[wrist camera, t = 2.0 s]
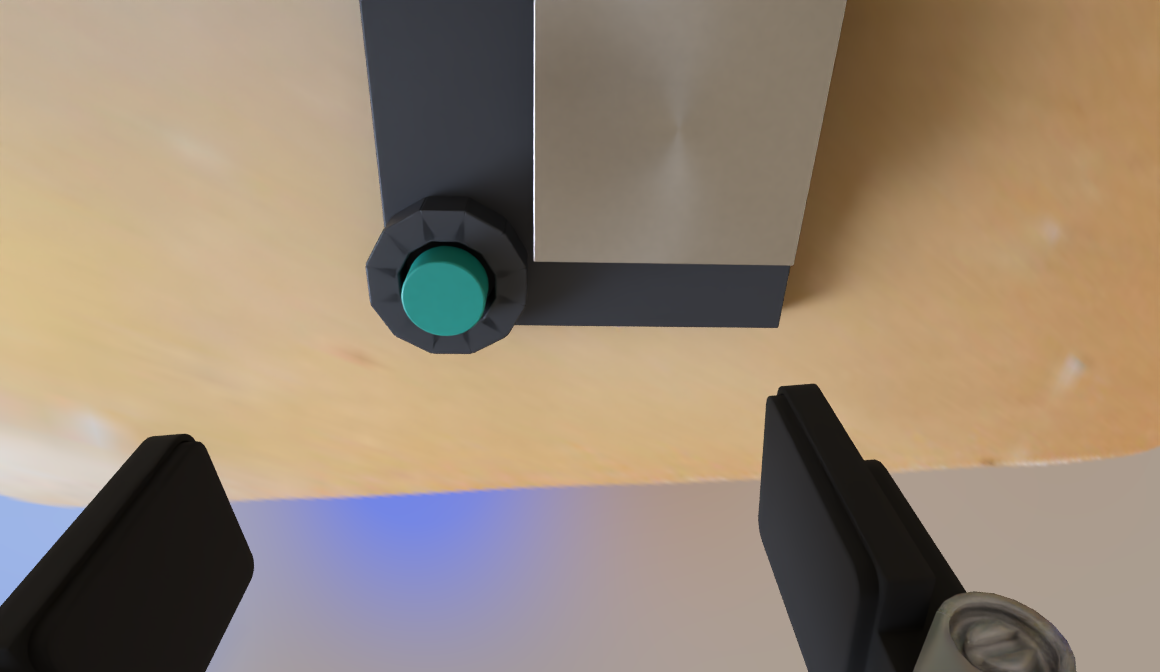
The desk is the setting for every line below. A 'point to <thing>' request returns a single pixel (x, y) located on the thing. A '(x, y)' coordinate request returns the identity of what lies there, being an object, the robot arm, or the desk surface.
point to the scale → (503, 187)
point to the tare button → (445, 291)
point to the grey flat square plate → (677, 127)
